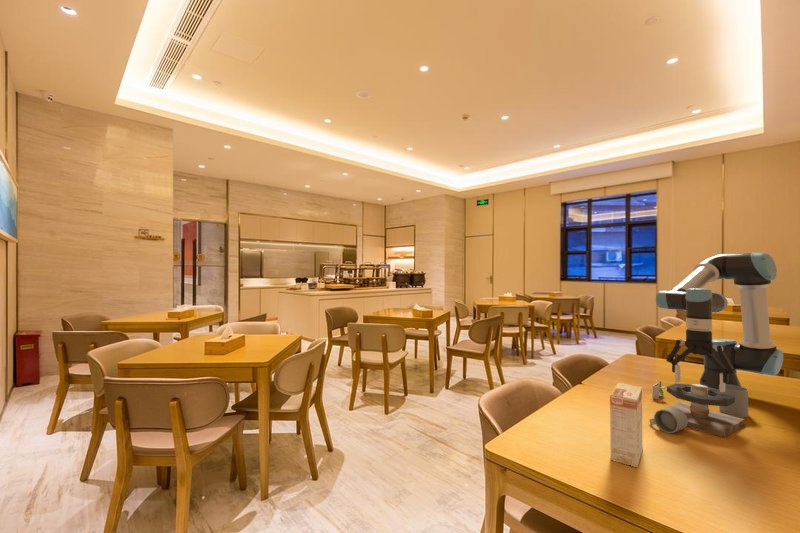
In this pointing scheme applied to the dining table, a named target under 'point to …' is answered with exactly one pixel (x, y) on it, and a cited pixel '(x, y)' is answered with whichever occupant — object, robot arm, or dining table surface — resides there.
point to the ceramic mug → (670, 420)
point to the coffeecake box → (626, 424)
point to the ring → (713, 399)
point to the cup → (736, 401)
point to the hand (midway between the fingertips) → (699, 386)
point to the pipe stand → (708, 416)
